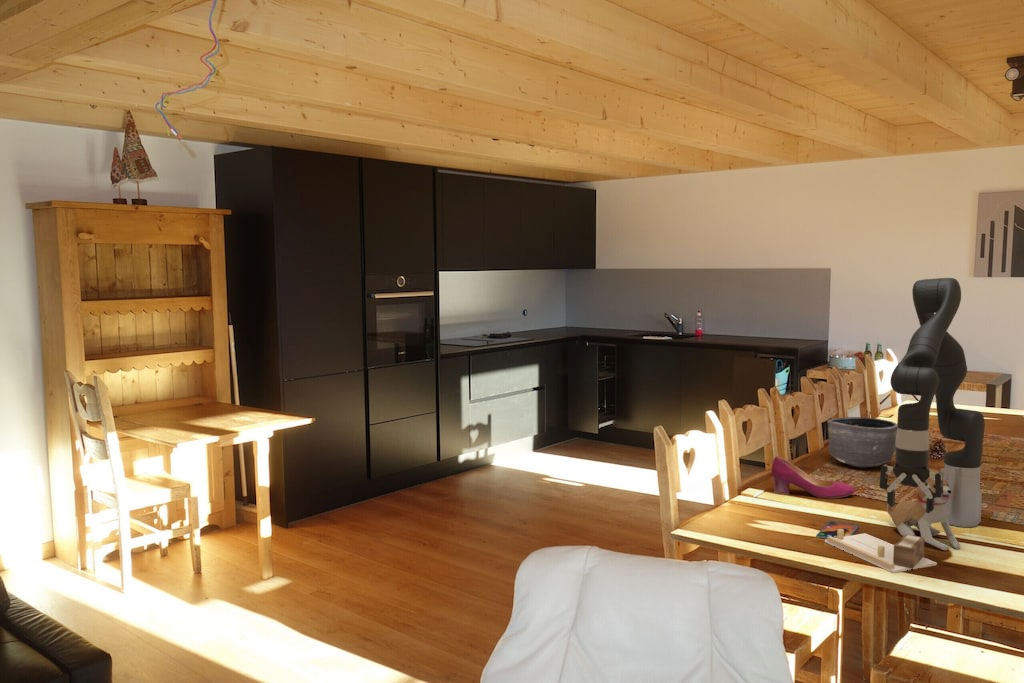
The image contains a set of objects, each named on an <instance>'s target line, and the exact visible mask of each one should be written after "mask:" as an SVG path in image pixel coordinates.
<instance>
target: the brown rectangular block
mask: <svg viewBox="0 0 1024 683" xmlns="http://www.w3.org/2000/svg"><path fill="white" fill-rule="evenodd" d="M925 543H926V542H925V538H924V537H921V536H917V535H915V536H913V535H908V534H905V535H904V536H902V537H901V538H900V539H899V540H897V542H896V543H895V544H893V545H894V557H893V564H894V565H898V566H902V567H907V568H912V569H913V568H914V567H915V566H916V564H917V563H918V562H919V561H920V560H921V559H922V558H923V557H924V556H925ZM913 570H914V569H913Z"/></svg>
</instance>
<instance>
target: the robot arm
mask: <svg viewBox="0 0 1024 683" xmlns="http://www.w3.org/2000/svg"><path fill="white" fill-rule="evenodd" d="M911 295H912V301H913V305H914V308H915V312H916V317H917V319H918V322H919V326H920V327H918V328H917V329H916V330H915V331H914V333H913V335H912V336H911V338H910V340H909V343H908V346H907V347H908V348H907V351H906V353H905V355H904V356H903V358H901V360H900V362H899V363H898V364H897V365H896V366H895V368H894V369H893V371H892V373H891V376H890V385H891V386H890V387H891V389H892V390H893V391H894V392H896V393H897V394H900V395H910V396H918V397H919V396H920V399H919V400H918V401H917V402H913V403H911V402H910V403H903V404H900V405H899V406H898V410H897V423H896V424H897V433H896V440H895V444H896V449H895V452H894V455H895V456H894V458H895V460H894V466H890V465H889V464H887V463H885V464H882V466H881V467H880V477H879V485H878V486H879V488H880V489H882V490H884V491H886V494H887V495H886V496H887V497H886V502H887V505H888V504H890V505H889V506H890V507H891V508H895V506H896V504H895V502H896V491H895V489H896V488H897V487H898V486H899V485H900V484H901V485H902V486H904V487H913V488H917V487H920V488H921V490H922V491H923V492H924V493H925V494H926V496H927V497H928V498H927V503H926V513H930V512H931V511H933V509H934V500H935V498H937V497H938V498H939V497H941V496H942V495H943V473H942V472H939V471H938V472H936V471H933V472H930V471H931V470H930V469H929V468H930V467H929V462H930V461H929V460H930V459H929V458H930V433H929V432H930V429H929V428H930V411H931V406H932V405H933V404H932V403H933V400H934V397H935V403H936V404H935V405H936V412H937V413H936V415H937V424H938V428H939V432H940V435H941V436H942V437H943V438H944V439H947V440H951V441H952V440H953V441H958V442H964V447H963V448H962V449H958V450H951V451H947V452H946V453H944V456H943V462H944V463H943V468H944V470H945V476H944V479H945V480H946V482H947V484H948V485H949V486H948V487H949V489H950V490H951V494H950V499H949V500H948V501H947V502H946V517H947V520H948V523H949V525H950V526H956V527H959V528H960V527H963V528H973V527H977V526H978V525H979V524H981V523H982V521H981V519H982V500H983V499H982V498H983V497H982V496H983V492H982V490H980V488H981V487H980V485H981V465H982V464H981V462H982V457H983V456H982V455H983V447H984V437H985V423H986V421H985V416H984V414H983V413H982V412H980V411H979V410H972V409H963V408H957V407H956V405H955V404H954V396H955V395H956V393H957V390H958V389H959V388H960V386H961V385H962V383H963V382H964V380H965V378H966V377H967V376H966V375H967V374H968V366H967V360H966V355H965V351H964V349H963V347H962V345H961V344H960V342H958V341H957V340H956V338H954V336H953V335H951V334H950V333H949V331H948V329H949V327H950V326H951V324H952V322H953V320H954V318H955V316H956V315H957V312H958V310H959V308H960V304H961V301H962V288H961V285H960V283H959V280H957V279H956V278H953V277H940V278H937V277H936V278H925V279H919V280H917V281H915V282H914V284H913V286H912V294H911ZM935 472H936V473H935ZM892 473H893V474H894V476H895V477H896V479H894V481H892V483H891V484H889V483H888V480H889V479H888V478H889V475H890V474H892ZM929 477H932V480H933V481H935V492H933V490H932V489H931V487H930V485H929V484H928V482H927V481H926V480H927V479H928V478H929Z"/></svg>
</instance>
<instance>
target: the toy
mask: <svg viewBox="0 0 1024 683" xmlns="http://www.w3.org/2000/svg"><path fill="white" fill-rule="evenodd" d="M929 471H930V472H935V473H937V472H936V471H934V470H933V471H932V470H929ZM938 472H942V473H943V495H942V496H941V497H939V498H938V497H937V498H935V500H934V509H933V511H931V512H930V513H926V503H927V498H928V497H927V496H926V494H925V493H924V492H923V491H922V490H921V488H920V487H916V489H917V494H916V498H917V500H916V501H913V500H909V499H907V500H904V501H900V502H898V503H897V504H896V505H895V506H894V509H892V507H890V506H889V505H890V504H888V503H887V505H886V511H887V514H888V515H889V516H890V518H891V521H892V522H893V524H894V525H895V527H896V529H897V531H898V532H899V534H900V535H901V536H902V537H903V536H904V535H905V534H908V535H913V536H916V534H915V531H914V530H913V529H912V527H915V528H917V529H918V530H919V532H920V537H924V538H925V542H924V543H927V544H929V545H932V546H933V547H936V548H938V549H940V550H942V551H948V550H949V546H948V545H947V544H945V543H943V542H941V541H939V540H937V539H934V538H933V537H935V536H937V535H939V534H941V532H942V531H940V530H939V529H937V528H935V527H933V526H932V524H939V523H940V524H941V526H942V529H943V531H944V533H945V535H946V537H947V539H948V541H949V542H950V544H951V546H952V548H953V549H957V550H958V549H960V548H961V545H960V543H959V542H958V540H957V538H956V537H955V534H954V533H953V530H952V527H951V525H950V524H949V523H948V520H947V517H946V502H947V501H948V500H949V499H950V494H951V490H950V489H949V487H948V486H949V485H948V484H947V482H946V480H945V479H944V476H945V470H944V467H940V468H939V470H938ZM926 481H927V482H928V484H929V485H930V487H931V489H932V490H933V492H935V481H933V480H932V477H929V478H928V479H927V480H926Z"/></svg>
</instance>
